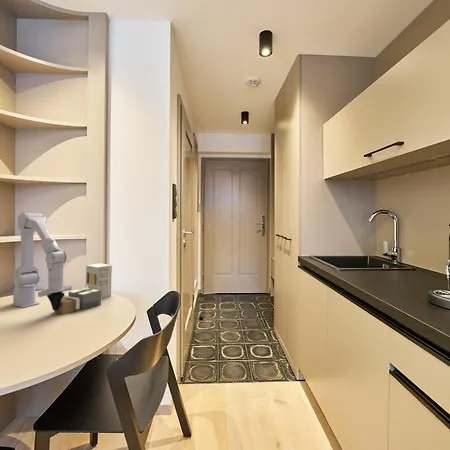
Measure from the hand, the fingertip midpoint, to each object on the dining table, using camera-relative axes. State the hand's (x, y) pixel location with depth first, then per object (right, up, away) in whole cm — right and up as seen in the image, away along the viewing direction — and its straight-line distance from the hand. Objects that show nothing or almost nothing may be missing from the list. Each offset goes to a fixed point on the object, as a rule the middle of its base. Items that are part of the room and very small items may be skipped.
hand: (55, 309), depth 137 cm
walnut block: (+2, -2, +4) cm, 4 cm away
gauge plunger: (+5, 0, +11) cm, 12 cm away
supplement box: (+6, -1, +31) cm, 32 cm away
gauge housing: (+7, -2, +14) cm, 15 cm away
